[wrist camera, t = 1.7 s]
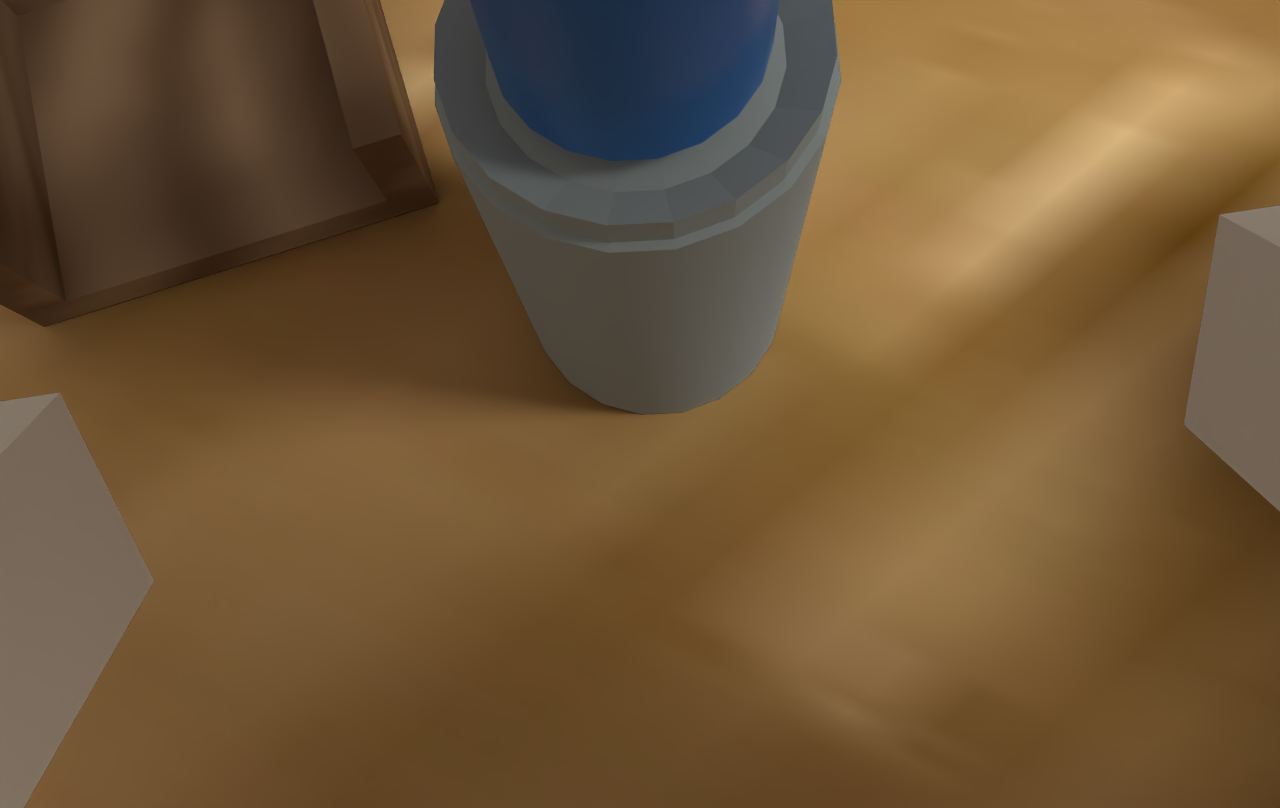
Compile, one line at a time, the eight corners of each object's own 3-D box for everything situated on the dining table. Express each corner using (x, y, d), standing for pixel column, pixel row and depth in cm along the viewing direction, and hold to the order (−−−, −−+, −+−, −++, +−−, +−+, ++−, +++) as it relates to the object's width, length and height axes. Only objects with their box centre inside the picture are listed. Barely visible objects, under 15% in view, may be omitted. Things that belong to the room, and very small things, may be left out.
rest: (352, -95, 39) (306, -196, 34) (438, 202, 35) (400, 134, 31) (-7, 14, 39) (-102, -74, 34) (44, 326, 35) (-55, 275, 30)
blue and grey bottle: (597, 145, 36) (404, -925, 12) (821, 233, 34) (1132, -770, 10) (488, 353, 34) (-13, -405, 10) (720, 456, 32) (810, -129, 8)
